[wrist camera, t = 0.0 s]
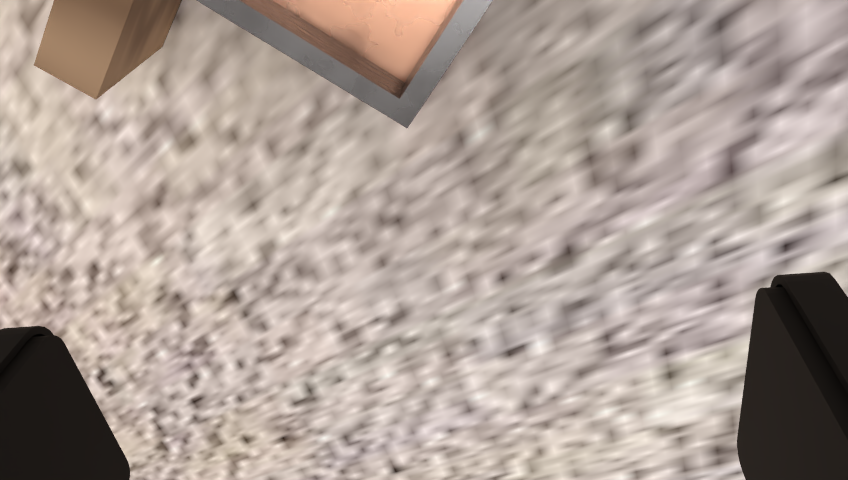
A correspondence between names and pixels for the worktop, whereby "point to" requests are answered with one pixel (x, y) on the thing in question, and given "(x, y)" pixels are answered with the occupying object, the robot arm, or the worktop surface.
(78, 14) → the thick wooden plank
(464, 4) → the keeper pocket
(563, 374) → the worktop surface
